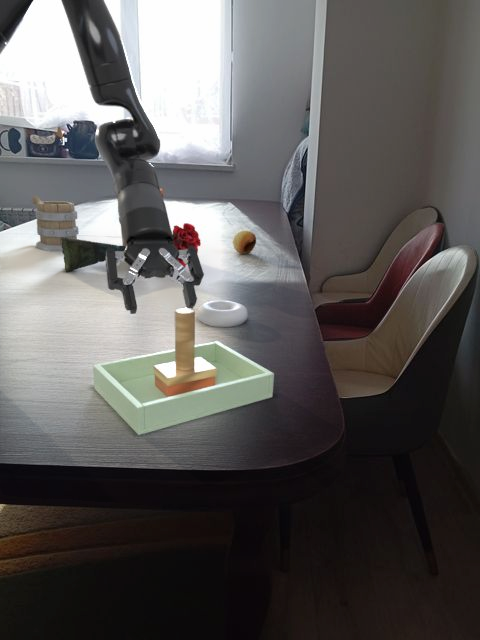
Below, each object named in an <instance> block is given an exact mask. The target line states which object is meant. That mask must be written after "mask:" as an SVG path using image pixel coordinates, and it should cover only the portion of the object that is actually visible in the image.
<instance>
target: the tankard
mask: <svg viewBox="0 0 480 640" xmlns="http://www.w3.org/2000/svg"><path fill="white" fill-rule="evenodd" d="M30 202H31V204H33V205H36V210H35V211H34V212H35V219H36V232H37V233H36V234H37V235H38V236H39V238H40V240H39V241H37V242H36V243H35V247H36V248H37V249H40V250H43V251H56V252H57V251H59V252H62V250H63V248H62V240H61V237H66V238H73V239H78V237H77V235H79V226H77V223H76V220H77V219H78V211H77V210H76V208H75V203H74V202H71V201H59V200H47V201H46V200H45V201H44V200H43V201H42V200H41V199H40V197H39V196H38V195H34V196H33V197H32V198H31V199H30Z"/></svg>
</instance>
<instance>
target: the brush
mask: <svg viewBox="0 0 480 640" xmlns="http://www.w3.org/2000/svg"><path fill="white" fill-rule="evenodd" d="M195 345H196V310H195V309H194V308H193V309H191V308H186V307H179V308H176V309H174V346H175V347H174V349H175V362H170V363H165V364H159V365H154V374H155V386H156V387H157V388H158V389H159V390H160V391H161V392H162V393H163V394H164V395H165V396H166V397H171V396H175V395H179V394H183V393H187V392H191V391H195V390H199V389H203V388H207V387H211V386H215V376H216V368H215V367H214V366H213V365H211V364H210V363H208V362H207V361H206V360H204V359H203V358H202V357H198V358H195Z"/></svg>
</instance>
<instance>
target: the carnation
mask: <svg viewBox="0 0 480 640" xmlns="http://www.w3.org/2000/svg"><path fill="white" fill-rule="evenodd" d="M171 232H172V237H173V241H174V245H175V247H176V248H177V249H178V250H184V249H188V247H189V246H194V247H195V248H196V251H197V254H198V253H199V247H201V245H202V244H201V238H200V237H199V236H200V234H199V232H198V231H197V230H196V227H195V225H193V224H191V223H189V222H187V223H186V222H185V223H183V226H182V227H181V226H179V225H173V229H172V230H171ZM61 240H62V248H63V250H62V251H61V252H62V254H63V262H64V271H65V273H67V272H71V271H76V270H78V269H82V268H86V267H89V266H94V265H95V264H98V263H103V262H104V263H105V262H106V260H105V258H106V250H107V248H108V247H112V248H114V249H115V251H125V245H124V246H123V245H117V244H113V243H105V242H97V241H91V240H86V239H85V240H84V239H79V238H77V239H73V238H66V237H61ZM177 261H178V262H179V263H180V264H182V265H183V267H184V269H185V268H186V266H188V265H187V264H185V263H184V261H183V260H182V259H181V258H178V260H177ZM172 270H173V271H174V269H173V268H172Z"/></svg>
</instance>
